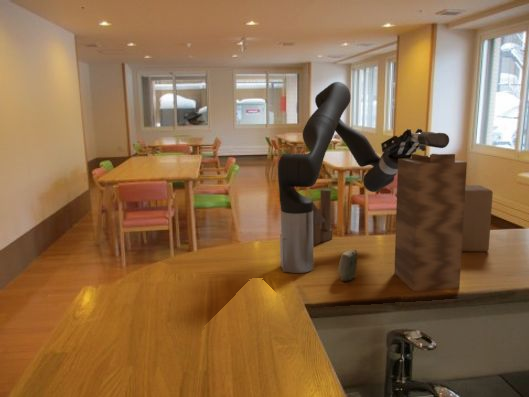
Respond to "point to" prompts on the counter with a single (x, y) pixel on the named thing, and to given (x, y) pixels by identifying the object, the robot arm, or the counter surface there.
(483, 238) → the wooden block
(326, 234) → the wooden block
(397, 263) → the brown tall block
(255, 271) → the counter surface
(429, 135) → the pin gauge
